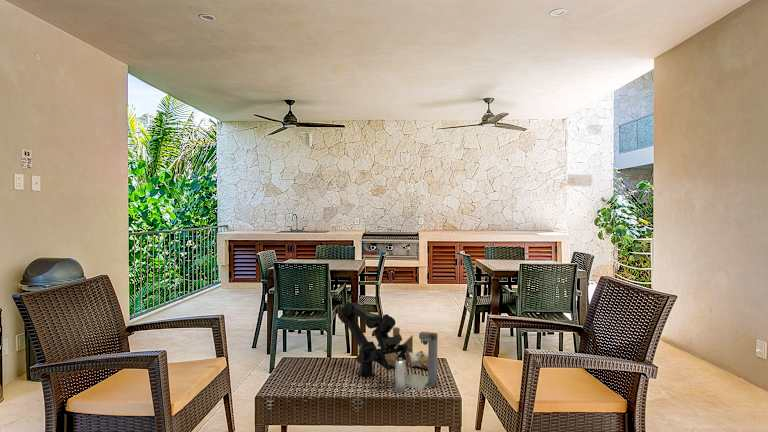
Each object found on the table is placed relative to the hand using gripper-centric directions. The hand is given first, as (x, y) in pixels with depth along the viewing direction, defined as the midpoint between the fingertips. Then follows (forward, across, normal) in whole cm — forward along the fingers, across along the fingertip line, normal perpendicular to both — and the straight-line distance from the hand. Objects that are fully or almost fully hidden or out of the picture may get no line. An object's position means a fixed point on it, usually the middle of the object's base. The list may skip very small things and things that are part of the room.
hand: (397, 368), depth 202 cm
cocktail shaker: (+8, 0, +5) cm, 9 cm away
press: (+7, +11, +6) cm, 14 cm away
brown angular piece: (-15, +27, +28) cm, 42 cm away
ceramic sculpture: (-6, +30, +19) cm, 36 cm away
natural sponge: (-12, +18, +25) cm, 33 cm away
